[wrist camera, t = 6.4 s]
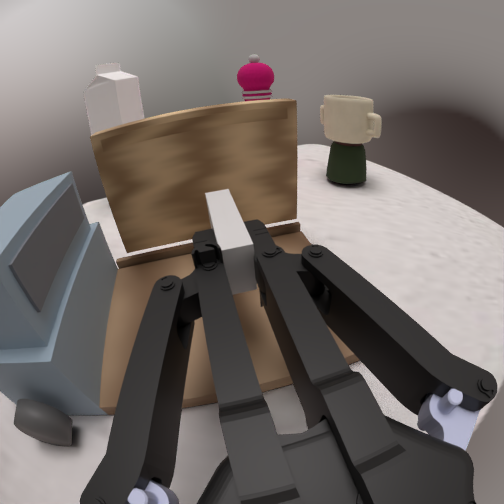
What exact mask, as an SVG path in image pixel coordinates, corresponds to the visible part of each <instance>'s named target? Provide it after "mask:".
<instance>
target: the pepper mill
mask: <svg viewBox="0 0 504 504" xmlns="http://www.w3.org/2000/svg"><path fill="white" fill-rule="evenodd" d="M259 60H260V59H259V56H258V55H256V54H253V55H251V56H250V57H249V62H250V63H249V64H247V65H244V66H243V67H241V68H240V70H239V71H238V74H237V80H238V83H239V85H240V86H241V87H242V88H243V89H244V91H242V94H243V97H242V99H245V101H256V100H270V97H272V95H271V94H272V93H271V92H272V90H271V89H269V88H270V86H271V84H272V83H273V82H274V73H273V71H272V69H271V68H270V67H269V66H268V65H266V64H263V63H258V62H259Z"/></svg>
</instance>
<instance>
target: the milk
mask: <svg viewBox="0 0 504 504" xmlns="http://www.w3.org/2000/svg"><path fill="white" fill-rule="evenodd" d="M95 69H96V76H95V77H94V79H93V80H92V81H91V82H90V84H89V85H88V87H87V88H86V89H85V90H84V92H83V93H84V100H85V105H86V111H87V116H88V121H89V126H90V130H91V135H93V134H94V133H96V132H99V131H102V130H105V129H108V128H112V127H115V126H118V125H122V124H126V123H129V122H133V121H137V120H141V119H144V113H143V108H142V101H141V95H140V88H139V81H138V77H137V76H134V75H131V74H128V73H125V72H121V68H120V64H119V63H112V64H101V65H96V66H95Z"/></svg>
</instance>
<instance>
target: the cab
mask: <svg viewBox="0 0 504 504" xmlns="http://www.w3.org/2000/svg"><path fill="white" fill-rule="evenodd" d="M117 270H118V269H117V266H116V264H115V262H114V259H113V257H112V254H111V252H110V250H109V247H108V245H107V242H106V240H105V237H104V234H103V232H102V229H101V226H100V224H99V222H96V223H92V224H89V222H88V219H87V217H86V214H85V211H84V208H83V206H82V203H81V200H80V197H79V194H78V191H77V188H76V184H75V181H74V178H73V175H72V172H68V173H66V174H63V175H61V176H57V177H55V178H52V179H50V180H47V181H44V182H42V183H39V184H37V185H34V186H32V187H30V188H27V189H25V190H22V191H20V192H18V193H16V194H14V195H13V196H12V197H11V198H9V200H7V201H6V202H5V203H4V204H3V205H2V206H1V207H0V391H1V392H2V393H3V394H4V395H5V396H7V397H8V398H9V399H10V400H11V401H13V402H14V403H15V404H16V412H15V418H14V425H15V426H16V427H17V428H18V429H19V430H20V431H22V432H23V433H25V434H27V435H29V436H31V437H33V438H35V439H37V440H40V441H43V442H46V443H49V444H53V445H59V446H69V445H71V443H72V419H71V418H70V417H69V416H68V415H108V414H107V413H105V412H104V411H103V410H102V409H101V408H99V403H100V386H101V373H102V363H103V353H104V345H105V337H106V330H107V324H108V317H109V311H110V306H111V300H112V295H113V290H114V285H115V280H116V275H117Z"/></svg>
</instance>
